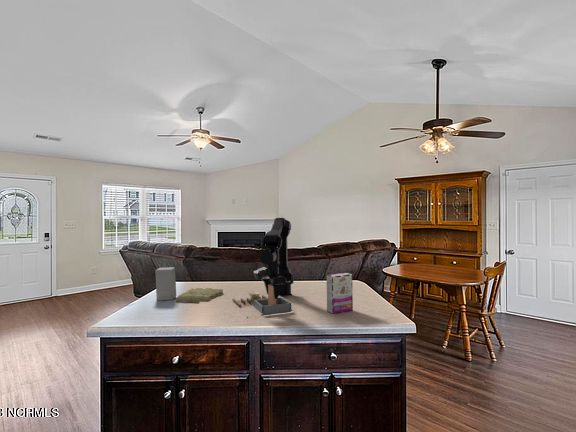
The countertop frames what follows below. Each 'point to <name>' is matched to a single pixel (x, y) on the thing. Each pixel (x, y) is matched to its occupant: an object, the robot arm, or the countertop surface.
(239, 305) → the rack
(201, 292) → the decorative tile
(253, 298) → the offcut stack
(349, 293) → the candy bar box
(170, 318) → the countertop surface
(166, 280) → the skincare box
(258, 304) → the tray
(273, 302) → the slat
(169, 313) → the countertop surface
